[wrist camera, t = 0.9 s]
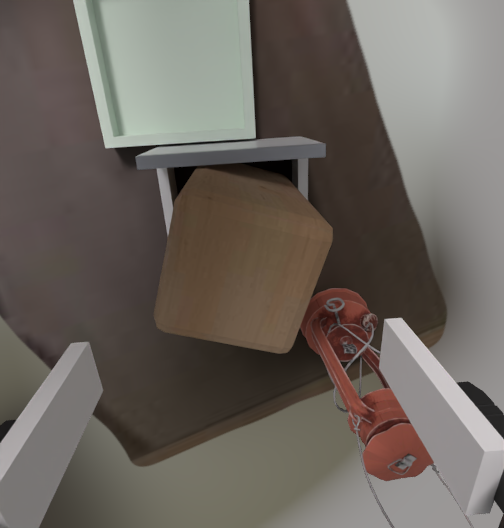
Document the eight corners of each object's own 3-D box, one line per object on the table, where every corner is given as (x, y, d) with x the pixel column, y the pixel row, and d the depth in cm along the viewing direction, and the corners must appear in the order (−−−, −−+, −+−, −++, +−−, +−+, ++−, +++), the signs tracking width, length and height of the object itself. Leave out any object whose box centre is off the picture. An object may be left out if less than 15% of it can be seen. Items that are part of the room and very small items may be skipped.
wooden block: (290, 175, 39) (343, 229, 20) (265, 255, 42) (292, 362, 24) (202, 151, 37) (175, 187, 19) (185, 236, 41) (148, 335, 23)
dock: (161, 145, 37) (135, 156, 27) (300, 136, 37) (325, 143, 27) (179, 261, 42) (163, 306, 32) (300, 252, 42) (322, 294, 33)
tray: (76, -33, 30) (63, -44, 28) (244, -41, 31) (246, -54, 29) (113, 146, 36) (105, 148, 34) (254, 136, 37) (255, 138, 34)
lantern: (296, 349, 48) (383, 658, 21) (299, 284, 44) (411, 562, 17) (365, 345, 49) (538, 644, 21) (373, 281, 45) (603, 546, 17)
